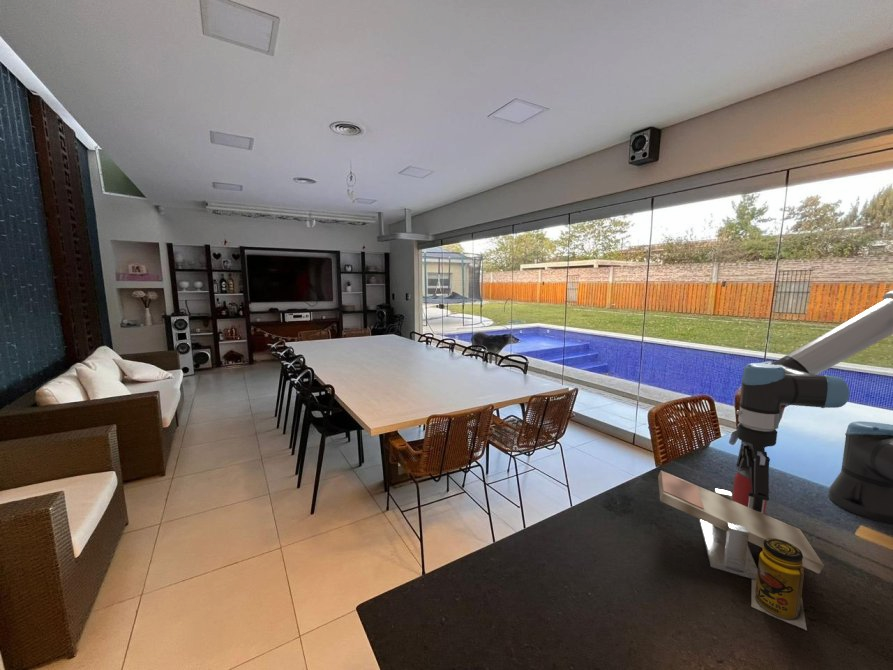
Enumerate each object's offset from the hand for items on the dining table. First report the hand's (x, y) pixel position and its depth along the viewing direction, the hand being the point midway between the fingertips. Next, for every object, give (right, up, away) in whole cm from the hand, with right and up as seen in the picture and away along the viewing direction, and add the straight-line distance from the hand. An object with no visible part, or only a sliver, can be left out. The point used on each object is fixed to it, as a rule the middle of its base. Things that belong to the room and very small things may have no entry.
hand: (748, 508), depth 92 cm
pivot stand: (-14, -4, -10) cm, 18 cm away
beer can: (0, -3, 0) cm, 3 cm away
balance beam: (-14, +3, -11) cm, 18 cm away
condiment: (-15, -6, -25) cm, 30 cm away
